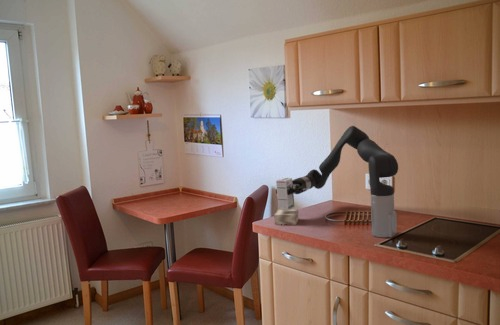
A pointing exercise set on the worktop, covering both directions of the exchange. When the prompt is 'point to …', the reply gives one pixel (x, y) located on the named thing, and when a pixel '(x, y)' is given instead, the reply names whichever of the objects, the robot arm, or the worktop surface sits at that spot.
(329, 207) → the worktop surface
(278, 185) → the syrup box
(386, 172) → the robot arm
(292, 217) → the ash block
